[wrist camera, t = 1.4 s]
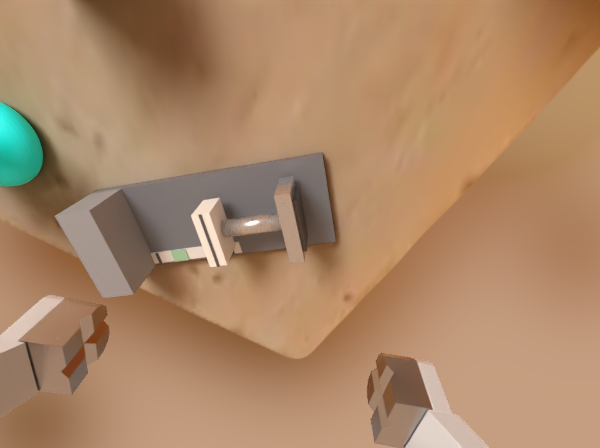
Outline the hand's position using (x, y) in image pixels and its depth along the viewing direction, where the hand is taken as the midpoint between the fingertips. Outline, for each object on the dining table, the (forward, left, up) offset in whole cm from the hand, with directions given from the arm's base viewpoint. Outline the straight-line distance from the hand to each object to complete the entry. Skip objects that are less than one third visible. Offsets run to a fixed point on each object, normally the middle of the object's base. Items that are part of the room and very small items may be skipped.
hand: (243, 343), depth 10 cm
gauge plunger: (+5, +8, -27) cm, 29 cm away
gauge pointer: (+11, +8, -26) cm, 30 cm away
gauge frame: (+12, +8, -29) cm, 32 cm away
